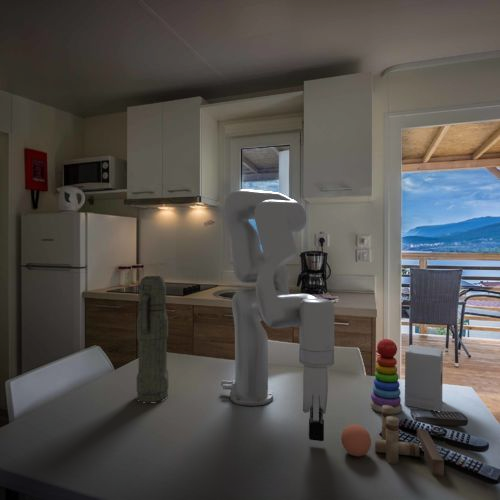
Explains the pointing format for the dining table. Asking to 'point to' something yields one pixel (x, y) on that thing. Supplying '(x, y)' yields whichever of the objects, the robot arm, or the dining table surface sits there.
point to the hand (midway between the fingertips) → (316, 438)
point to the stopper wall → (431, 453)
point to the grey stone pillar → (152, 340)
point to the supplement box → (423, 377)
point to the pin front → (404, 447)
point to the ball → (356, 440)
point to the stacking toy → (386, 378)
